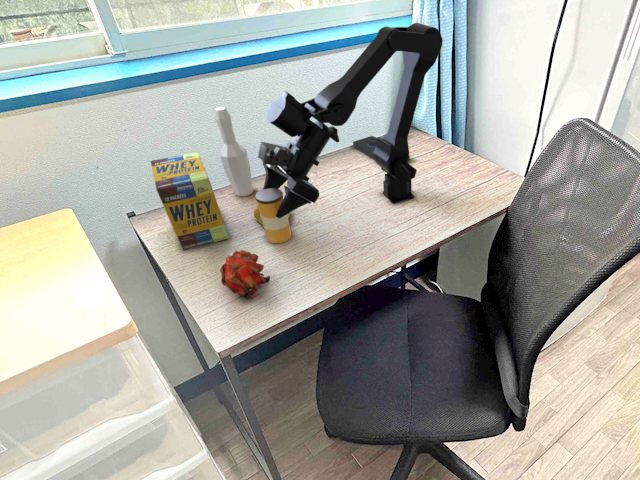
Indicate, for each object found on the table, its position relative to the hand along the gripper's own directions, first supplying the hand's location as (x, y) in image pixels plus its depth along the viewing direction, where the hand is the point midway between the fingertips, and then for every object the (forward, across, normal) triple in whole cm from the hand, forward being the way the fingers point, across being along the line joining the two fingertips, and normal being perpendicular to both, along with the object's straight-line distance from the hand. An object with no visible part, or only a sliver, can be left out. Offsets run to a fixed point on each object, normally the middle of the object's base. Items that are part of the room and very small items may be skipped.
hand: (270, 208), depth 96 cm
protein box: (+16, -14, -4) cm, 21 cm away
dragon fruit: (+14, +14, -3) cm, 20 cm away
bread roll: (+4, -9, +7) cm, 12 cm away
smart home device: (-25, -25, +37) cm, 51 cm away
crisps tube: (+5, 0, +6) cm, 8 cm away
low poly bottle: (+5, -26, +6) cm, 27 cm away
